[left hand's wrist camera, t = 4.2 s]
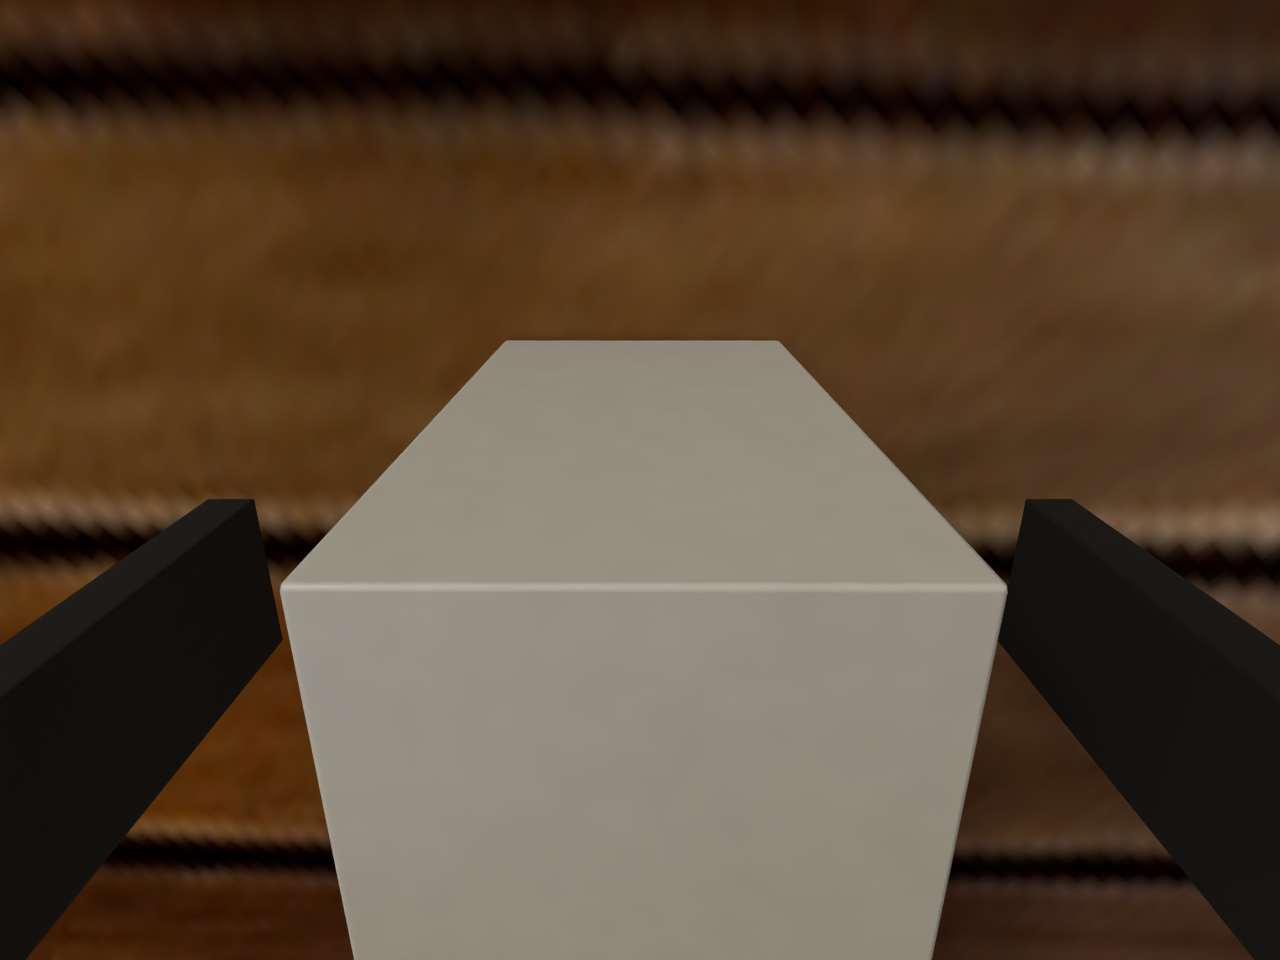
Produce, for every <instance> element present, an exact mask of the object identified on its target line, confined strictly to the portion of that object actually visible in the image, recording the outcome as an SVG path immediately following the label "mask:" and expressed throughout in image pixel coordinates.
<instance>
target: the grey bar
mask: <svg viewBox="0 0 1280 960" xmlns="http://www.w3.org/2000/svg"><path fill="white" fill-rule="evenodd" d="M1007 593H1008V591H1007V586H1006V584H1005V582H1004V581H1003V580H1002V579H1001V578H1000V577H999V576H998V575H997V574H996V573H995V572H994V571H993V570H992V569H991V567H990V566H989V565H988V564H987V563H986V562H985V561H984V560H983V559H982V558H981V557H980V556H979V555H978V554H977V552H976V551H975V550H974V549H973V548H972V547H971V546H970V545H969V544H968V543H967V542H966V541H965V540H964V539H963V538H962V536H961V535H960V534H959V533H958V532H957V531H956V530H955V529H954V528H953V527H952V526H951V525H950V524H949V523H948V521H947V520H946V519H945V518H944V517H943V516H942V515H941V514H940V513H939V512H938V511H937V510H936V509H935V508H934V506H933V505H932V504H931V503H930V502H929V501H928V500H927V499H926V498H925V497H924V496H923V495H922V494H921V493H920V491H919V490H918V489H917V488H916V487H915V486H914V485H913V484H912V483H911V482H910V481H909V480H908V479H907V478H906V477H905V475H904V474H903V473H902V472H901V471H900V470H899V469H898V468H897V467H896V466H895V465H894V464H893V463H892V462H891V460H890V459H889V458H888V457H887V456H886V455H885V454H884V453H883V452H882V451H881V450H880V449H879V448H878V447H877V445H876V444H875V443H874V442H873V441H872V440H871V439H870V438H869V437H868V436H867V435H866V434H865V433H864V432H863V430H862V429H861V428H860V427H859V426H858V425H857V424H856V423H855V422H854V421H853V420H852V419H851V418H850V417H849V416H848V414H847V413H846V412H845V411H844V410H843V409H842V408H841V407H840V406H839V405H838V404H837V403H836V402H835V401H834V399H833V398H832V397H831V396H830V395H829V394H828V393H827V392H826V391H825V390H824V389H823V388H822V387H821V386H820V384H819V383H818V382H817V381H816V380H815V379H814V378H813V377H812V376H811V375H810V374H809V373H808V372H807V371H806V369H805V368H804V367H803V366H802V365H801V364H800V363H799V362H798V361H797V360H796V359H795V358H794V357H793V356H792V355H791V353H790V352H789V351H788V350H787V349H786V348H785V347H784V346H783V345H782V344H781V343H780V342H779V341H505V342H504V343H503V344H502V345H501V347H500V348H499V349H498V350H497V351H496V352H495V353H494V354H493V355H492V356H491V357H490V358H489V360H488V361H487V362H486V363H485V364H484V365H483V366H482V367H481V368H480V369H479V370H478V371H477V373H476V374H475V375H474V376H473V377H472V378H471V379H470V380H469V381H468V382H467V383H466V384H465V386H464V387H463V388H462V389H461V390H460V391H459V392H458V393H457V394H456V395H455V396H454V397H453V398H452V400H451V401H450V402H449V403H448V404H447V405H446V406H445V407H444V408H443V409H442V410H441V411H440V413H439V414H438V415H437V416H436V417H435V418H434V419H433V420H432V421H431V422H430V423H429V424H428V426H427V427H426V428H425V429H424V430H423V431H422V432H421V433H420V434H419V435H418V436H417V437H416V439H415V440H414V441H413V442H412V443H411V444H410V445H409V446H408V447H407V448H406V449H405V450H404V452H403V453H402V454H401V455H400V456H399V457H398V458H397V459H396V460H395V461H394V462H393V463H392V464H391V466H390V467H389V468H388V469H387V470H386V471H385V472H384V473H383V474H382V475H381V476H380V477H379V479H378V480H377V481H376V482H375V483H374V484H373V485H372V486H371V487H370V488H369V489H368V490H367V492H366V493H365V494H364V495H363V496H362V497H361V498H360V499H359V500H358V501H357V502H356V503H355V505H354V506H353V507H352V508H351V509H350V510H349V511H348V512H347V513H346V514H345V515H344V516H343V517H342V519H341V520H340V521H339V522H338V523H337V524H336V525H335V526H334V527H333V528H332V529H331V530H330V532H329V533H328V534H327V535H326V536H325V537H324V538H323V539H322V540H321V541H320V542H319V543H318V545H317V546H316V547H315V548H314V549H313V550H312V551H311V552H310V553H309V554H308V555H307V556H306V558H305V559H304V560H303V561H302V562H301V563H300V564H299V565H298V566H297V567H296V568H295V569H294V571H293V572H292V573H291V574H290V575H289V576H288V577H287V578H286V579H285V580H284V581H283V582H282V584H281V587H280V594H281V599H282V604H283V609H284V614H285V619H286V624H287V629H288V634H289V639H290V644H291V649H292V653H293V658H294V663H295V668H296V673H297V678H298V683H299V688H300V693H301V698H302V703H303V708H304V713H305V718H306V723H307V728H308V733H309V738H310V742H311V747H312V752H313V757H314V762H315V767H316V772H317V777H318V782H319V787H320V792H321V797H322V802H323V807H324V812H325V817H326V822H327V827H328V832H329V836H330V841H331V846H332V851H333V856H334V861H335V866H336V871H337V876H338V881H339V886H340V891H341V896H342V901H343V906H344V911H345V916H346V921H347V925H348V930H349V935H350V940H351V945H352V950H353V955H354V960H932V956H933V951H934V946H935V942H936V937H937V932H938V927H939V922H940V917H941V912H942V908H943V903H944V898H945V893H946V888H947V883H948V879H949V874H950V869H951V864H952V859H953V854H954V849H955V845H956V840H957V835H958V830H959V825H960V820H961V816H962V811H963V806H964V801H965V796H966V791H967V787H968V782H969V777H970V772H971V767H972V762H973V757H974V753H975V748H976V743H977V738H978V733H979V728H980V724H981V719H982V714H983V709H984V704H985V699H986V694H987V690H988V685H989V680H990V675H991V670H992V665H993V661H994V656H995V651H996V646H997V641H998V636H999V632H1000V627H1001V622H1002V617H1003V612H1004V607H1005V602H1006V598H1007Z"/></svg>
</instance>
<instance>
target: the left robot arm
mask: <svg viewBox="0 0 1280 960" xmlns="http://www.w3.org/2000/svg"><path fill="white" fill-rule="evenodd" d="M1007 591H1008V593H1007V598H1006V602H1005V607H1004V612H1003V617H1002V622H1001V627H1000V632H999V636H998V641H999V643H1000V644H1001V645H1002V646H1003V648H1004V649H1005V650H1006V651H1007V653H1008V654H1009V655H1010V656H1011V658H1012V659H1013V660H1014V661H1015V663H1016V664H1017V665H1018V666H1019V668H1020V669H1021V670H1022V671H1023V673H1024V674H1025V675H1026V676H1027V677H1028V679H1029V680H1030V681H1031V682H1032V684H1033V685H1034V686H1035V687H1036V689H1037V690H1038V691H1039V692H1040V694H1041V695H1042V696H1043V697H1044V699H1045V700H1046V701H1047V702H1048V704H1049V705H1050V706H1051V707H1052V709H1053V710H1054V711H1055V712H1056V714H1057V715H1058V716H1059V717H1060V718H1061V720H1062V721H1063V722H1064V723H1065V725H1066V726H1067V727H1068V728H1069V730H1070V731H1071V732H1072V733H1073V735H1074V736H1075V737H1076V738H1077V740H1078V741H1079V742H1080V743H1081V745H1082V746H1083V747H1084V748H1085V750H1086V751H1087V752H1088V753H1089V755H1090V756H1091V757H1092V758H1093V759H1094V761H1095V762H1096V763H1097V764H1098V766H1099V767H1100V768H1101V769H1102V771H1103V772H1104V773H1105V774H1106V776H1107V777H1108V778H1109V779H1110V781H1111V782H1112V783H1113V784H1114V786H1115V787H1116V788H1117V789H1118V791H1119V792H1120V793H1121V794H1122V796H1123V797H1124V798H1125V799H1126V800H1127V802H1128V803H1129V804H1130V805H1131V807H1132V808H1133V809H1134V810H1135V812H1136V813H1137V814H1138V815H1139V817H1140V818H1141V819H1142V820H1143V822H1144V823H1145V824H1146V825H1147V827H1148V828H1149V829H1150V830H1151V832H1152V833H1153V834H1154V835H1155V837H1156V838H1157V839H1158V840H1159V841H1160V843H1161V844H1162V845H1163V846H1164V848H1165V849H1166V850H1167V851H1168V853H1169V854H1170V855H1171V856H1172V858H1173V859H1174V860H1175V861H1176V863H1177V864H1178V865H1179V866H1180V868H1181V869H1182V870H1183V871H1184V873H1185V874H1186V875H1187V876H1188V878H1189V879H1190V880H1191V881H1192V882H1193V884H1194V885H1195V886H1196V887H1197V889H1198V890H1199V891H1200V892H1201V894H1202V895H1203V896H1204V897H1205V899H1206V900H1207V901H1208V902H1209V904H1210V905H1211V906H1212V907H1213V909H1214V910H1215V911H1216V912H1217V914H1218V915H1219V916H1220V917H1221V919H1222V920H1223V921H1224V922H1225V923H1226V925H1227V926H1228V927H1229V928H1230V930H1231V931H1232V932H1233V933H1234V935H1235V936H1236V937H1237V938H1238V940H1239V941H1240V942H1241V943H1242V945H1243V946H1244V947H1245V948H1246V950H1247V951H1248V952H1249V953H1250V955H1251V956H1252V957H1253V958H1254V960H1280V645H1279V644H1277V643H1276V642H1274V641H1273V640H1271V639H1270V638H1269V637H1267V636H1266V635H1264V634H1263V633H1262V632H1260V631H1259V630H1257V629H1256V628H1254V627H1253V626H1252V625H1250V624H1249V623H1247V622H1246V621H1244V620H1243V619H1242V618H1240V617H1239V616H1237V615H1236V614H1234V613H1233V612H1232V611H1230V610H1229V609H1227V608H1226V607H1224V606H1223V605H1222V604H1220V603H1219V602H1217V601H1216V600H1215V599H1213V598H1212V597H1210V596H1209V595H1207V594H1206V593H1205V592H1203V591H1202V590H1200V589H1199V588H1197V587H1196V586H1195V585H1193V584H1192V583H1190V582H1189V581H1187V580H1186V579H1185V578H1183V577H1182V576H1180V575H1179V574H1178V573H1176V572H1175V571H1173V570H1172V569H1170V568H1169V567H1168V566H1166V565H1165V564H1163V563H1162V562H1160V561H1159V560H1158V559H1156V558H1155V557H1153V556H1152V555H1150V554H1149V553H1148V552H1146V551H1145V550H1143V549H1142V548H1140V547H1139V546H1138V545H1136V544H1135V543H1133V542H1132V541H1131V540H1129V539H1128V538H1126V537H1125V536H1123V535H1122V534H1121V533H1119V532H1118V531H1116V530H1115V529H1113V528H1112V527H1111V526H1109V525H1108V524H1106V523H1105V522H1103V521H1102V520H1101V519H1099V518H1098V517H1096V516H1095V515H1093V514H1092V513H1091V512H1089V511H1088V510H1086V509H1085V508H1084V507H1082V506H1081V505H1079V504H1078V503H1076V502H1075V501H1074V500H1072V499H1026V502H1025V507H1024V512H1023V517H1022V522H1021V526H1020V531H1019V536H1018V541H1017V546H1016V551H1015V556H1014V561H1013V565H1012V570H1011V575H1010V580H1009V585H1008V590H1007ZM282 640H283V639H282V634H281V629H280V624H279V619H278V615H277V610H276V605H275V600H274V595H273V590H272V585H271V580H270V575H269V571H268V566H267V561H266V556H265V551H264V546H263V541H262V536H261V531H260V527H259V522H258V517H257V512H256V507H255V502H254V499H208V500H206V501H205V502H204V503H202V504H201V505H199V506H198V507H196V508H195V509H194V510H192V511H191V512H189V513H188V514H186V515H185V516H184V517H182V518H181V519H179V520H178V521H177V522H175V523H174V524H172V525H171V526H169V527H168V528H167V529H165V530H164V531H162V532H161V533H159V534H158V535H157V536H155V537H154V538H152V539H151V540H149V541H148V542H147V543H145V544H144V545H142V546H141V547H139V548H138V549H137V550H135V551H134V552H132V553H131V554H130V555H128V556H127V557H125V558H124V559H122V560H121V561H120V562H118V563H117V564H115V565H114V566H112V567H111V568H110V569H108V570H107V571H105V572H104V573H102V574H101V575H100V576H98V577H97V578H95V579H94V580H92V581H91V582H90V583H88V584H87V585H85V586H84V587H83V588H81V589H80V590H78V591H77V592H75V593H74V594H73V595H71V596H70V597H68V598H67V599H65V600H64V601H63V602H61V603H60V604H58V605H57V606H55V607H54V608H53V609H51V610H50V611H48V612H47V613H45V614H44V615H43V616H41V617H40V618H38V619H37V620H36V621H34V622H33V623H31V624H30V625H28V626H27V627H26V628H24V629H23V630H21V631H20V632H18V633H17V634H16V635H14V636H13V637H11V638H10V639H8V640H7V641H6V642H4V643H3V644H1V645H0V960H25V959H26V958H27V957H28V956H29V954H30V953H31V952H32V951H33V950H34V948H35V947H36V946H37V945H38V943H39V942H40V941H41V940H42V938H43V937H44V936H45V935H46V933H47V932H48V931H49V930H50V928H51V927H52V926H53V925H54V923H55V922H56V921H57V920H58V918H59V917H60V916H61V915H62V913H63V912H64V911H65V910H66V909H67V907H68V906H69V905H70V904H71V902H72V901H73V900H74V899H75V897H76V896H77V895H78V894H79V892H80V891H81V890H82V889H83V887H84V886H85V885H86V884H87V882H88V881H89V880H90V879H91V877H92V876H93V875H94V874H95V872H96V871H97V870H98V869H99V868H100V866H101V865H102V864H103V863H104V861H105V860H106V859H107V858H108V856H109V855H110V854H111V853H112V851H113V850H114V849H115V848H116V846H117V845H118V844H119V843H120V841H121V840H122V839H123V838H124V836H125V835H126V834H127V833H128V831H129V830H130V829H131V828H132V827H133V825H134V824H135V823H136V822H137V820H138V819H139V818H140V817H141V815H142V814H143V813H144V812H145V810H146V809H147V808H148V807H149V805H150V804H151V803H152V802H153V800H154V799H155V798H156V797H157V795H158V794H159V793H160V792H161V791H162V789H163V788H164V787H165V786H166V784H167V783H168V782H169V781H170V779H171V778H172V777H173V776H174V774H175V773H176V772H177V771H178V769H179V768H180V767H181V766H182V764H183V763H184V762H185V761H186V759H187V758H188V757H189V756H190V754H191V753H192V752H193V751H194V750H195V748H196V747H197V746H198V745H199V743H200V742H201V741H202V740H203V738H204V737H205V736H206V735H207V733H208V732H209V731H210V730H211V728H212V727H213V726H214V725H215V723H216V722H217V721H218V720H219V718H220V717H221V716H222V715H223V713H224V712H225V711H226V710H227V709H228V707H229V706H230V705H231V704H232V702H233V701H234V700H235V699H236V697H237V696H238V695H239V694H240V692H241V691H242V690H243V689H244V687H245V686H246V685H247V684H248V682H249V681H250V680H251V679H252V677H253V676H254V675H255V674H256V672H257V671H258V670H259V669H260V668H261V666H262V665H263V664H264V663H265V661H266V660H267V659H268V658H269V656H270V655H271V654H272V653H273V651H274V650H275V649H276V648H277V646H278V645H279V644H280V643H281V641H282Z"/></svg>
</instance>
